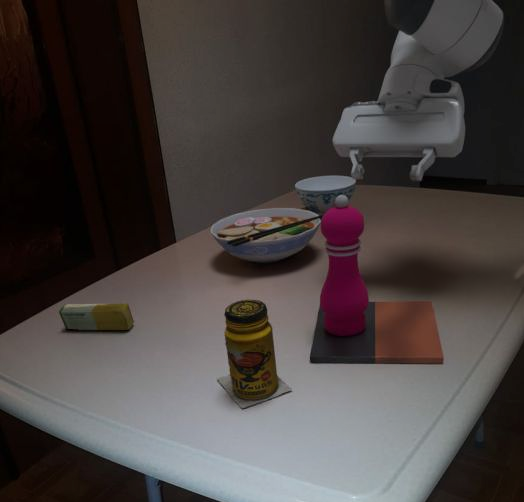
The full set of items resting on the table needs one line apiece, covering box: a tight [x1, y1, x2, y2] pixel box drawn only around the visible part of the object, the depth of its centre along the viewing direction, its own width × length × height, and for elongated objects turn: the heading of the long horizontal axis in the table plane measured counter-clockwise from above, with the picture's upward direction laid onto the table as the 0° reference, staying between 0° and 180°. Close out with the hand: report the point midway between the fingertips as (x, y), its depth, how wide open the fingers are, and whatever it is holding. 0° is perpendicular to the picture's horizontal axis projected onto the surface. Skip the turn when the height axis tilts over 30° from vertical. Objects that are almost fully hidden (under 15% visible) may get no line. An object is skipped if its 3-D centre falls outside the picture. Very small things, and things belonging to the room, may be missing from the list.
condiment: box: [216, 299, 293, 409], centre depth 72 cm, size 7×8×12 cm
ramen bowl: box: [210, 207, 323, 264], centre depth 116 cm, size 25×23×8 cm
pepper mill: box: [319, 195, 370, 336], centre depth 80 cm, size 7×7×20 cm
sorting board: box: [309, 300, 445, 364], centre depth 84 cm, size 18×18×1 cm
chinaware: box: [294, 175, 357, 216], centre depth 140 cm, size 15×15×8 cm
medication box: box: [58, 302, 135, 331], centre depth 94 cm, size 12×3×4 cm, turn 78°
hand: (385, 178), depth 86 cm, fingers open, 8 cm apart
